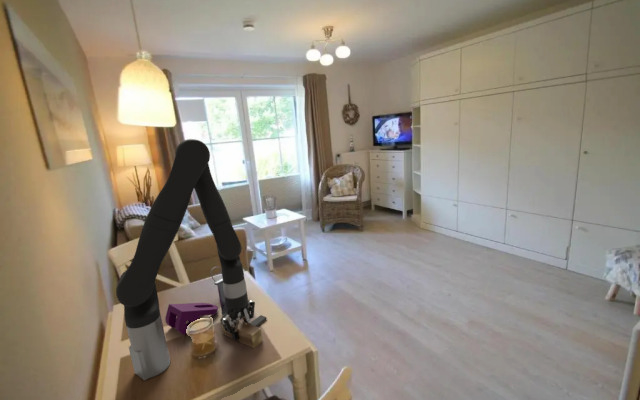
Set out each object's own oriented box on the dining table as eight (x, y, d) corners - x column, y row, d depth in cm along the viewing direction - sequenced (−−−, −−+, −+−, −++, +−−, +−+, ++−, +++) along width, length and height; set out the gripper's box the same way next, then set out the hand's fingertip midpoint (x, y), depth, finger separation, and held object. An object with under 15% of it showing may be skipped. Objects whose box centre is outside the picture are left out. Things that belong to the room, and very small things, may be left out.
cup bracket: (230, 321, 119) (225, 286, 116) (219, 316, 123) (214, 282, 119) (247, 309, 126) (243, 276, 123) (237, 305, 130) (232, 272, 126)
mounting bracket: (204, 322, 129) (162, 327, 115) (209, 302, 131) (168, 304, 116) (218, 330, 124) (176, 335, 110) (223, 308, 125) (182, 311, 111)
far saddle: (255, 328, 114) (255, 325, 113) (249, 325, 115) (249, 323, 115) (266, 319, 118) (266, 317, 118) (261, 317, 120) (260, 315, 120)
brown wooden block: (254, 348, 103) (252, 335, 102) (222, 333, 112) (220, 321, 111) (262, 341, 106) (260, 328, 105) (231, 327, 115) (229, 315, 114)
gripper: (226, 304, 97) (233, 351, 101) (258, 284, 109) (263, 327, 113) (211, 299, 101) (218, 344, 105) (243, 280, 113) (249, 321, 117)
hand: (241, 335), depth 109 cm, fingers open, 4 cm apart
